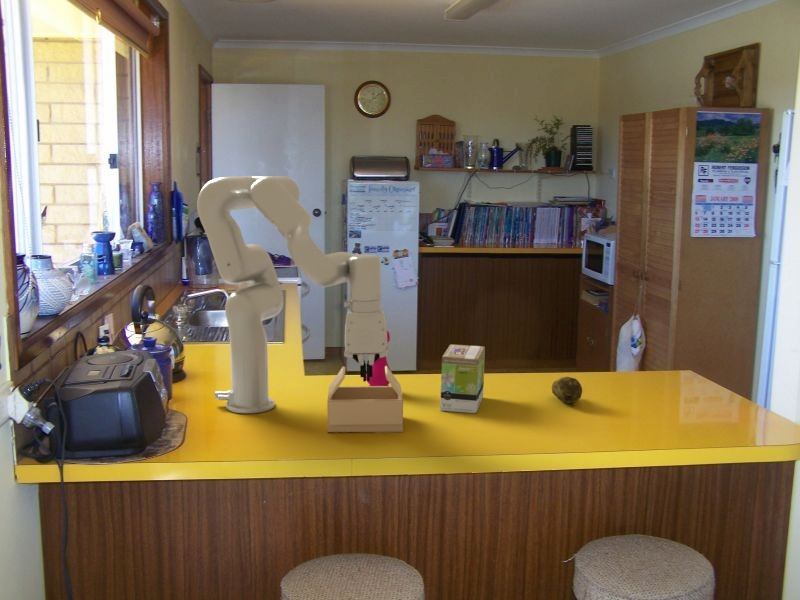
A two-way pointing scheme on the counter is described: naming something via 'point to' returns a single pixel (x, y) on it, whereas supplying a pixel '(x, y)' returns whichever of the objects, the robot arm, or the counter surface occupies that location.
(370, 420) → the carton
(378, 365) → the pepper mill
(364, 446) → the counter surface
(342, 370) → the left flap
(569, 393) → the potato
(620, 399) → the counter surface
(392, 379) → the right flap
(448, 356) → the tea box
